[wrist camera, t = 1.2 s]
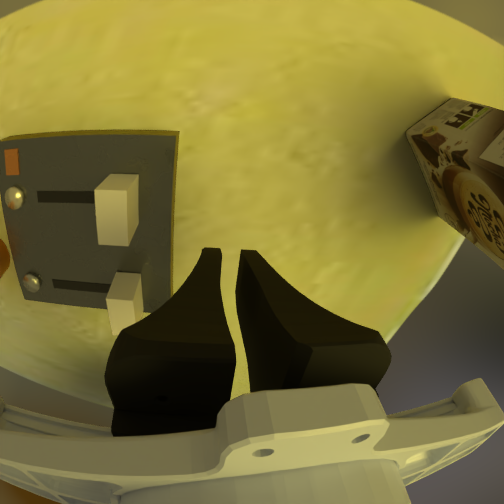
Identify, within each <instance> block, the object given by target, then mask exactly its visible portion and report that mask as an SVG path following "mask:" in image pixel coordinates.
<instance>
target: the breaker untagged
mask: <svg viewBox="0 0 504 504" xmlns="http://www.w3.org/2000/svg"><path fill="white" fill-rule="evenodd" d="M106 302H107V308H108V314H109V319H110V324H111V329H112V334H113V335H119V333H120V332H121V330H122V329H124V328H126V327H128V326H130V325H132V324H134V323H136V322H138V321H140V320H141V319H142V314H143V297H142V284H141V274H138V273H124V272H116V274H115V276H114V279H113V281H112V284H111V287H110V289H109V292H108V294H107V297H106Z"/></svg>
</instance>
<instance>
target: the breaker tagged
mask: <svg viewBox="0 0 504 504" xmlns="http://www.w3.org/2000/svg"><path fill="white" fill-rule="evenodd" d="M138 187H139V174H110V175H109V176H108V177H107V178H106V179H105V180H104V181H103V182H102V183H101V184H100V185H99V186H98V187H97V188H96V189H95V190H94V192H95V210H96V223H97V235H98V245H114V246H129V244H130V242H131V239H132V237H133V235H134V233H135V230H136V228H137V226H138V224H139V211H138Z"/></svg>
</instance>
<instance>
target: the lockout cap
mask: <svg viewBox="0 0 504 504" xmlns="http://www.w3.org/2000/svg"><path fill="white" fill-rule="evenodd" d="M9 265H10V255H9V252H8V249H7V247H6V245H5V244H4V242H3V241H2V240H1V239H0V278H1V276H2V275H3V274H4V273H5V271H6V270H7V269H8V267H9Z"/></svg>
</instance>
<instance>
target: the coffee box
mask: <svg viewBox="0 0 504 504" xmlns="http://www.w3.org/2000/svg"><path fill="white" fill-rule="evenodd" d="M406 137H407V139H408V141H409V143H410V145H411V148H412V150H413V152H414V154H415V156H416V159H417V161H418V163H419V166H420V168H421V170H422V173H423V175H424V178H425V180H426V183H427V185H428V188H429V190H430V193H431V196H432V199H433V201H434V204H435V207H436V210H437V212H438V215H439V217H440V218H441V219H443V220H444V221H445V222H447V223H448V224H449V225H451V226H452V227H453V228H454V229H456V230H457V231H458V232H459V233H461V234H462V235H463V236H464V237H466V238H467V239H468V240H470V241H471V242H472V243H473V244H474V245H476V246H477V247H478V248H479V249H480V250H482V251H483V252H484V253H485V254H486V255H488V256H489V257H490V258H491V259H492V260H493V261H495V262H496V263H497V264H498V265H499V266H500V267H501V268H502V269H503V270H504V111H503V110H499V109H496V108H492V107H489V106H485V105H481V104H477V103H473V102H469V101H465V100H461V99H457V98H452V99H450V100H449V101H447V102H446V103H444V104H443V105H442V106H440V107H439V108H437V109H436V110H435V111H433V112H432V113H430V114H429V115H428V116H426V117H425V118H423V119H422V120H421V121H419V122H418V123H416V124H415V125H414V126H412V127H411V128H410V129H408V130H407V131H406Z"/></svg>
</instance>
